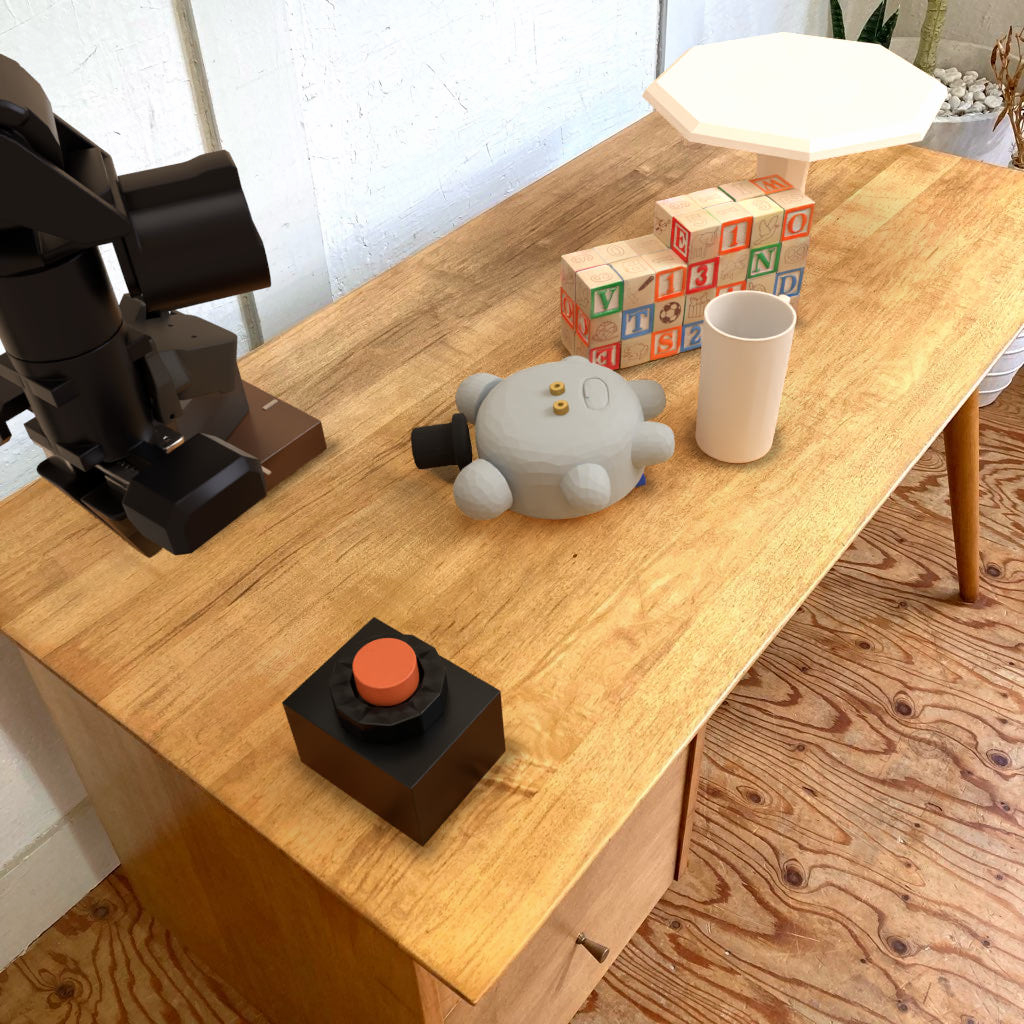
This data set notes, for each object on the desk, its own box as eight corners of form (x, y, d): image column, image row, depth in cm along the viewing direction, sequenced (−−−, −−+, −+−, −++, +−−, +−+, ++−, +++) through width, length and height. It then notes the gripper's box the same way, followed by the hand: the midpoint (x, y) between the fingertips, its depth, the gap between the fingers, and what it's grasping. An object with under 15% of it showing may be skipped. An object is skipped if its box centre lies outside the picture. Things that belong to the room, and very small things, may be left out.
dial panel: (208, 553, 79) (197, 523, 77) (104, 484, 85) (92, 455, 83) (340, 456, 87) (334, 426, 85) (236, 399, 93) (228, 370, 91)
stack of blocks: (588, 380, 93) (589, 256, 84) (560, 343, 97) (558, 222, 89) (797, 322, 98) (817, 200, 90) (761, 290, 102) (778, 170, 94)
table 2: (637, 181, 120) (643, 29, 109) (889, 181, 117) (923, 25, 106) (634, 316, 100) (641, 146, 89) (938, 320, 97) (986, 146, 86)
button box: (300, 762, 65) (275, 683, 60) (386, 677, 70) (369, 597, 64) (422, 847, 61) (407, 770, 55) (506, 751, 65) (499, 671, 60)
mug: (746, 477, 83) (765, 351, 74) (675, 444, 86) (686, 319, 78) (811, 415, 88) (835, 290, 80) (741, 385, 91) (758, 263, 83)
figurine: (659, 395, 90) (430, 426, 92) (653, 311, 84) (409, 345, 86) (688, 537, 77) (422, 570, 79) (684, 450, 72) (397, 487, 73)
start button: (343, 687, 60) (338, 668, 59) (385, 647, 62) (381, 627, 61) (390, 717, 58) (386, 698, 57) (432, 675, 60) (429, 655, 59)
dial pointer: (194, 479, 81) (173, 415, 76) (176, 476, 81) (154, 412, 77) (250, 409, 87) (233, 346, 83) (233, 406, 87) (215, 344, 83)
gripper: (313, 310, 52) (359, 534, 63) (83, 214, 61) (158, 426, 71) (133, 428, 46) (218, 655, 56) (-95, 302, 54) (16, 520, 65)
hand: (152, 551), depth 62 cm, fingers closed
